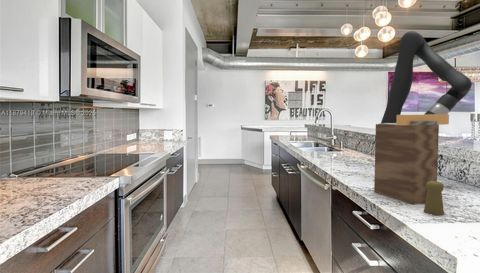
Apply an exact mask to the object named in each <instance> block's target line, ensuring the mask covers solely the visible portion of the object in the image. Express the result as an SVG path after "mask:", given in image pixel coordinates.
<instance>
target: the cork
mask: <svg viewBox="0 0 480 273" xmlns="http://www.w3.org/2000/svg"><path fill="white" fill-rule="evenodd" d="M426 188H427V190H428V191H427V197H426V202H425V203H424V209H423V213H425V214H427V213H428V215H430V214H432V215H431V216H444V215H445V211H444V210H445V209H444V201H443V193H442V192H443V191H444V189H445V186H444V184H443V183H442V181H438V180H437V181H429V182H427V183H426Z"/></svg>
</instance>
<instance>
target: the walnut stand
mask: <svg viewBox="0 0 480 273" xmlns="http://www.w3.org/2000/svg"><path fill="white" fill-rule="evenodd" d="M439 129H440V125H437V121H411V125H396V123H382V124H381V123H376V124H375V135H374V136H375V137H374V138H375V139H374V140H375V141H374V142H375V144H374V147H375V148H374V186H373V187H374V190H373V193H376V194H379V195H382V196H385V197H388V198H391V199H395V200H398V201H400V202H403V203H406V204H409V205H419V204H425V202H426V197H427V191H428V190H427V188H426V183H427V182H429V181H438V162H439V138H440V137H439V136H440V135H439V133H440V132H439V131H440V130H439Z"/></svg>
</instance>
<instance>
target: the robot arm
mask: <svg viewBox="0 0 480 273" xmlns="http://www.w3.org/2000/svg"><path fill="white" fill-rule="evenodd" d="M399 41H400V42H399V45H398V46H399V47H398V54H397V55H398V56H397V61H396V64H395V68H394V71H393V76H392V80H391V84H390V87H389V88H390V89H389V92H388V98H387V104H386V106H385V111H384V113H383V115H382V117H381V118H382V119H381V122H380V124H382V123H396V120H397V115H402V109H403V107H404V104H405V102H406V101H407V99H408V97H409V94H410V91H411V89H412V85H413V80H414V58H415V56H416V57H418V58H419V59H420V60H421V61H423V63H424V64H425V65H426V66H427V68H429V70H430V71H431V72H432V73H433V74H434V75H436V76H435V77H437V78H439V80H441V81H442V82H446V83H447V84H449V86H451V87H450V88H449V89H448V90H447V91H446V93H445V94H442V95H441V96H440V97H439V98H438V99H437V100H436V102H434V103H433V104H432V105H431V106H430V107H429V109H427V110H426V112H425V113H424V114H423V115H429V114H449V113H450V112H451V111H452V109H454V108H455V107H456V105H457V104H458V103H459V102H460V101H461V100H462V99H464V98H465V97H466V96H467V94H468V93H469V92H470V90H471V88H472V86H473V85H472V84H473V83H472V81H471V79H470V78H469V77H468V76H467V75H466V74H464V73H463V72H461V71H459V70H457V69H456V68H455V66H453V65H451V64H450V63H449V62H448V61H447V60H446V59H445V58H443V57H442V56H441V55H439V54H438V53H437V52H436V51H434V49H433V48H432V47H431V46H430V45H429V44H428V42H427V41H426V39H425V38H424V36H423V35H422V34H420V33H419V32H417V31H414V30H408V31H407V32H405V33H404V34H403V35H402V36H401V38H400V40H399Z"/></svg>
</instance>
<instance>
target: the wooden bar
mask: <svg viewBox="0 0 480 273" xmlns="http://www.w3.org/2000/svg"><path fill="white" fill-rule="evenodd" d="M411 121H437V125H439V126H441V125H442V126H443V125H449V122H450V114H449V113H448V114H429V115H424V114H401V115H397V120H396V125H411Z"/></svg>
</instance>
